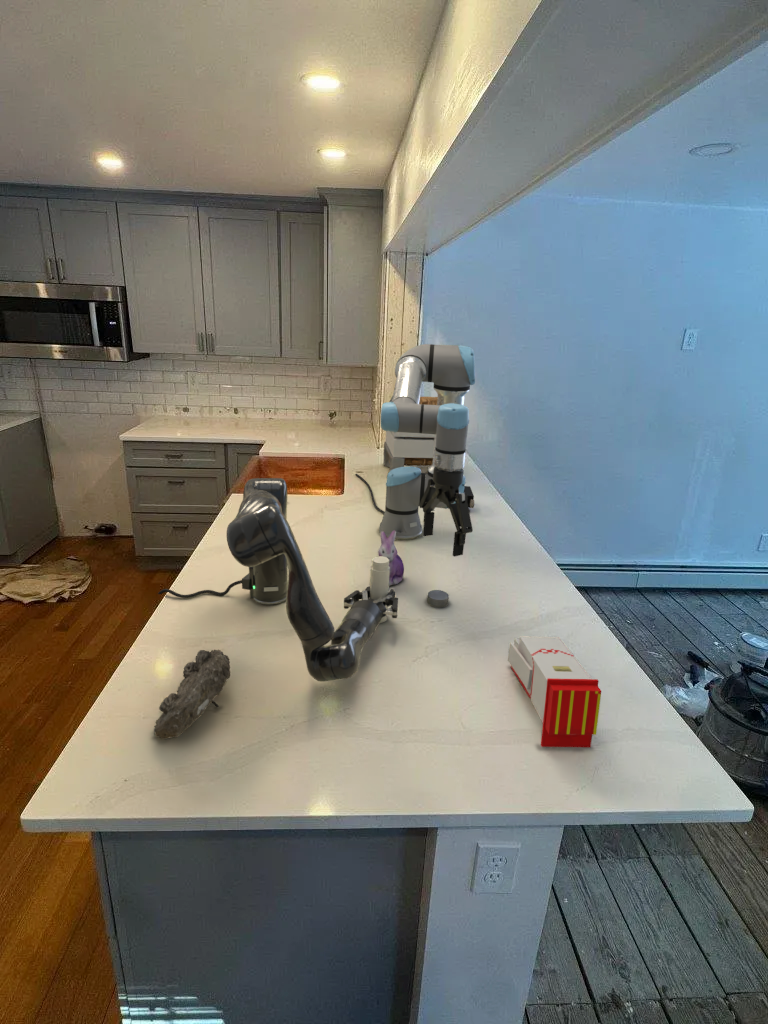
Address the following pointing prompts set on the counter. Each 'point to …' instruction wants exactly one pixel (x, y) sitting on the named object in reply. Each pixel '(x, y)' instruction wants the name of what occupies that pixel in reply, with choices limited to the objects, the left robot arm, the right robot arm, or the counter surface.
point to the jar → (379, 579)
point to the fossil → (193, 693)
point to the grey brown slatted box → (409, 445)
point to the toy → (557, 690)
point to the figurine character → (469, 496)
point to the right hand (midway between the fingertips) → (442, 544)
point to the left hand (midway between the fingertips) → (382, 590)
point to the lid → (437, 598)
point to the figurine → (391, 557)
